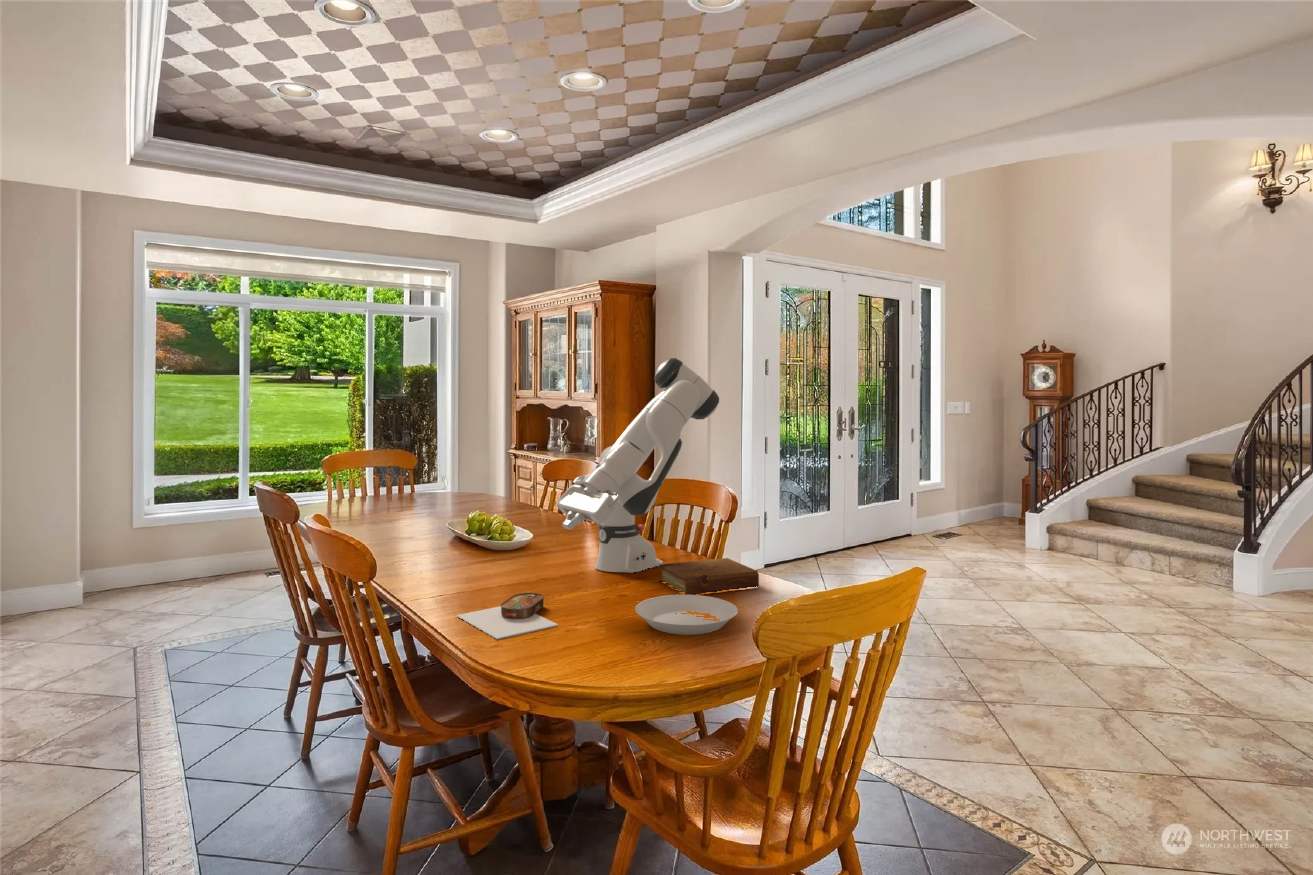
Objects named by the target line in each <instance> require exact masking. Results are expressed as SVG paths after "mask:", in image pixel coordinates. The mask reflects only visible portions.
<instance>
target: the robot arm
mask: <svg viewBox="0 0 1313 875" xmlns="http://www.w3.org/2000/svg"><path fill="white" fill-rule="evenodd" d="M683 363H684V362H683V361H681V360H680V359H677V358H676V357H672V358H671V357H669V359H667V360H665V361H663V362H662V363H661V364H660V365H659V366H658V367H657V368H656V371H655V374H654V377H653V378H654V382H655V384H656V385H657V387H658V388H659V389H662V390H661V391H660V392H659V393H658V394H656V395H655V397H653V398H652V399H651V400H650V401H648V403H647V404H646V405H645V406H644V407H643V409H642V410H640V412H639V413H638V414H637V415H636V416H635V418H633V419H632V421H631V422H630V423H629V424H628V426H627V427H626V428H625V430H624V431H623V432H622V433H621V435H620V436H619V438H618V439H617V440H616V441H615V443H613V445H610V446H608V447H606V448H605V449H604V450H603V451H602V452H601V453H600V456H599V459H598V460H599V461H598V464H597V466H596V467H595V469H594V470H593V471H592V472H591V473H588V474H585V475H581V476H578V477H575V479H574V480H573V481H572V483H573V484H572V485H570V486H569V487H568V488H567V489H566V490H565V491H564V493H563V494H562V495H561V496H560V497H559V499H558V500H557V503H556V507H557V508H558V509H559V510H560V512H562V513H563V514H566V516H565V520H564V521H563V522H562V524H561V526H562V527H563V528H564V529H566V530H570V531H572V530H574V528H575V527H576V526H578V525H579V524H581V523H583V522H584V520H587V521H589V522H592V523H596V524H598V539H599V546H598V554H597V558H596V562H595V565H594V568H595V569H597V570H598V571H603V572H606V573H607V572H609V573H627V574H628V573H629V574H633V573H634V572H636V573H639V572H643V571H646V570H648V569H647V568H650V569H652V568H653V567H654V568H656V567H655V566H657V567H659V566H658V565H660V564H664V562H663V560H661V559H659V558H657V554H656V548H655V547H654V545H653V544H652V543H651V542H649V541H648V540H647V539H646V538H644V537H643V536H642V535H641V534H640V532H639V531H641V532H644V531H645V529H646V526H645V524H641V523H639V524H637V523H636V522H635V520H636V519H635V517H636V516H643V515H646V514H647V513H648V512H649V511H650V510H651V509H652V508H653V506H654V505H655V504H654V503H655V502H656V500H657V497H658V493H659V491H660V489H661V487H662V485H663V483H664V482H665V479H666V478H667V476H668V474H669V472H670V471H671V468H672V467H673V465H674V463H675V461H676V459H677V457H678V456H679V453H680V451H681V449H682V444H683V441H682V439H681V433H682V430H683V428H684V427H685V426H686V424H687V423H688V422H689V420H690V419H691V418H692V419H694V420H698V421H699V420H705V419H707V418H708V417H711V415H712V414H714V412H716V410H717V409H718V405H719V404H720V397H719V395H718V393H717V392H716V391H715V390H714V389H712V387H711V386H710V385H709V384H708V383H707V382H706V381H705V380H704V378H703V377H701V376H700V375H698V374H697V373H696V372H694V371H693V370H692V369H691V368H689V367H688V366H687V365H685V364H683ZM656 447H657V449H658V450H659V453H660V459H659V461H658V462H657V464H656V466H655V468H654V469H653V471H652V473H651V475H650V477H649V478H648V479H644V478H642V477H641V476H640V475H639V474H637V472H638V471H639V469H640V468H641V467H642V466H643V464H644V463H645V462H646V461H647V459H648V457H649V456H650V455H651V453H653V451H654V449H655V448H656ZM654 568H653V569H654ZM645 569H646V570H645ZM642 570H643V571H642ZM634 574H635V573H634Z"/></svg>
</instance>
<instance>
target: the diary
mask: <svg viewBox="0 0 1313 875" xmlns="http://www.w3.org/2000/svg"><path fill="white" fill-rule="evenodd" d="M658 567H659V568H660V569H661V570H662V579H659V580H660V581H661V582H667V583H665V584H666V585H672V586H674V587H672V588H673V589H679V590H681V591H679V590H677V591H678V592H685V594H684V595H696V594H701V593H706V592H717V591H722V590H729V589H739V588H747V587H756V586H757V587H758V586H759V581H760V578H759V577H760V574H759V572H758V570H756V569H754V568H751V567H749V566H748V565H747V566H746V565H745V564H742V563H740V562H737V561H735V560H734V559H731V558H728V557H726V558H714V559H705V560H704V559H703V560H693V561H683V562H673V563H663V564H660V565H659V566H658ZM661 582H660V583H661ZM666 585H665V586H666ZM670 587H671V586H670ZM673 589H672V590H673ZM678 592H677V593H678Z"/></svg>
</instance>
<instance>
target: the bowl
mask: <svg viewBox="0 0 1313 875" xmlns="http://www.w3.org/2000/svg"><path fill="white" fill-rule="evenodd" d="M634 609H635V612H636V613H637V615H638V616H640V617H641V618H642V619H644V621H646V623H647V624H648V625H649V626H651V628H653V629H655V630H657V631H660V632H662V633H665V634H666V633H667V634H672V635H684V636H690V635H691V636H692V635H693V636H694V635H704V633H705V634H711V633H713V631H714V632H716V631H719V630H720V629H722V628H723V627H724V626H725V625H726V624H727V623H728V622H730V620H731V619H732V618H734V617H735V616H736V615H738V612H739V608H738V607H737V606H736V605H735V604H734V603H732V602H730V601H728V600H725V599H722V598H719V597H713V596H709V595H681V594H670V595H669V594H668V595H661V596H656V597H651V598H648V599H645V600H642V601H641V602H639V603H637V604H636V605H635V608H634ZM686 611H691V612H695V611H696V612H699V613H700V612H701V613H709V614H710V615H711V616H716V619H720V621H713V620H712V621H711V620H703V619H714V618H704V617H696V616H704V615H696V614H694V615H692V614H681V613H688V612H686ZM675 613H677V614H675Z"/></svg>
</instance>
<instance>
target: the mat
mask: <svg viewBox="0 0 1313 875" xmlns="http://www.w3.org/2000/svg"><path fill="white" fill-rule="evenodd" d="M455 616H457V617H456V618H458V619H459V618H460V619H459V620H461V619H463V620H464V621H463V620H462V621H463V622H465V623H466V622H467V623H466V624H468V623H469V624H468V625H470V624H471V625H470V626H472V627H473V626H475V627H476V628H475V627H474V628H475V629H477V628H478V629H477V630H479V631H480V630H482V631H483V632H482V631H481V632H482V633H483V634H486V633H487V634H488V635H487V634H486V635H487V636H489V637H491V636H492V637H491V638H493V639H494V638H495V639H494V640H497V641H498V640H503V639H508V638H511V637H516V636H521V635H524V634H529V633H533V632H538V631H542V630H547V629H552V628H555V627H558V626H559V624H558V623H556V622H554V621H551V620H550V619H548V618H546V617H543V616H541V615H539V614H537V613H535V614H533V615H532V616H530V617H526V618H510V617H503V616H502V615H501V605H500V606H496V607H491V608H486V609H485V608H484V609H481V610H475V611H470V612H466V613H461V614H456V615H455Z"/></svg>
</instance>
